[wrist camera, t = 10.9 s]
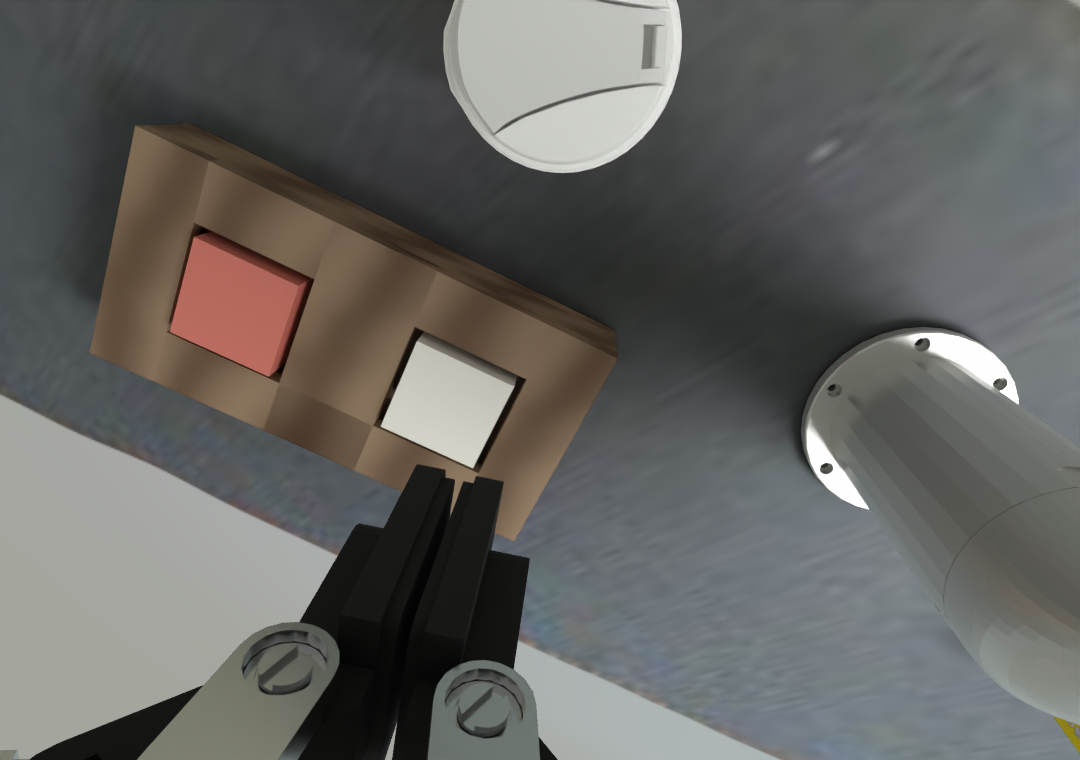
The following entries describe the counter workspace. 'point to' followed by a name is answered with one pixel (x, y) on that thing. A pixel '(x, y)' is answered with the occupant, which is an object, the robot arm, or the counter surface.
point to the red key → (240, 303)
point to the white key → (448, 399)
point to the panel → (340, 319)
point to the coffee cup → (562, 75)
